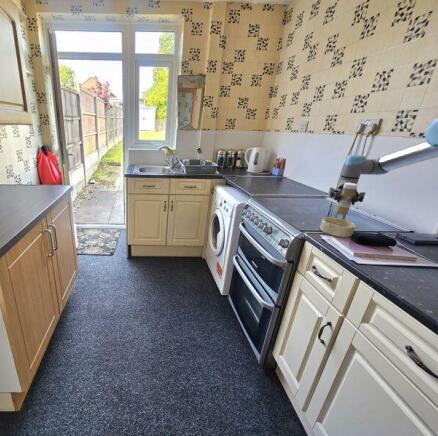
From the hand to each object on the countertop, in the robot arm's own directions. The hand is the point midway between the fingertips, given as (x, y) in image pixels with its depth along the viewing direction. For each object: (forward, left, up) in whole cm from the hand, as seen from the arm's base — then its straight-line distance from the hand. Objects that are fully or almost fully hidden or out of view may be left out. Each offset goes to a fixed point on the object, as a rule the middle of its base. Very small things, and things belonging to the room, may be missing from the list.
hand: (346, 200), depth 103 cm
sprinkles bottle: (-1, -5, -7) cm, 9 cm away
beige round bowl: (-1, -5, -16) cm, 17 cm away
